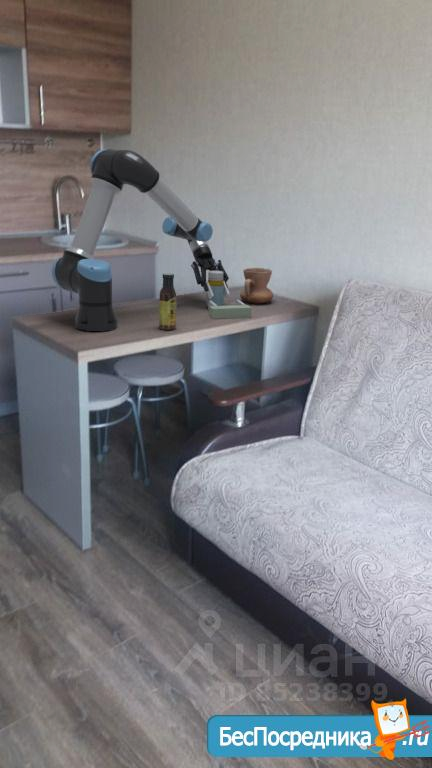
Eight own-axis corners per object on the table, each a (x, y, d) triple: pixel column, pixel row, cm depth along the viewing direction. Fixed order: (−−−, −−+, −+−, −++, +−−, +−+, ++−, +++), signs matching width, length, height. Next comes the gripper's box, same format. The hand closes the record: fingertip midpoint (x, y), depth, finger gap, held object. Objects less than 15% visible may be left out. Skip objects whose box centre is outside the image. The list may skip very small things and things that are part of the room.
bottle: (205, 305, 255) (206, 270, 250) (221, 305, 256) (222, 270, 251) (207, 309, 248) (209, 273, 243) (224, 309, 250) (226, 273, 244)
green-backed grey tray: (212, 318, 235) (212, 308, 234) (203, 310, 247) (203, 300, 245) (251, 317, 239) (251, 307, 238) (240, 309, 251) (241, 299, 250)
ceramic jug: (253, 296, 276) (254, 265, 271) (280, 301, 268) (282, 269, 263) (230, 303, 263) (231, 270, 258) (258, 308, 255) (259, 275, 250)
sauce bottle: (173, 331, 217) (174, 276, 210) (156, 329, 218) (156, 274, 211) (178, 326, 223) (179, 273, 216) (161, 325, 224) (162, 271, 217)
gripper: (217, 254, 263) (236, 299, 256) (177, 257, 253) (195, 303, 246) (224, 244, 257) (243, 289, 249) (183, 246, 247) (202, 293, 240)
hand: (219, 296), depth 248 cm, fingers closed on bottle, 7 cm apart
